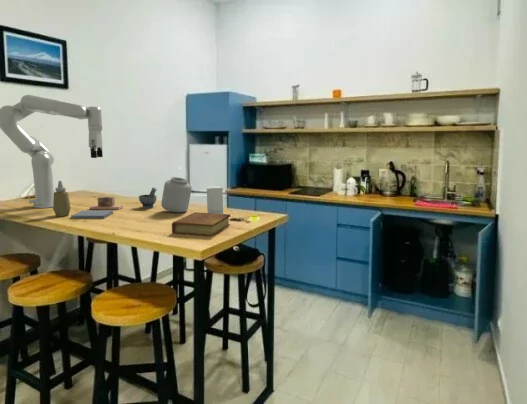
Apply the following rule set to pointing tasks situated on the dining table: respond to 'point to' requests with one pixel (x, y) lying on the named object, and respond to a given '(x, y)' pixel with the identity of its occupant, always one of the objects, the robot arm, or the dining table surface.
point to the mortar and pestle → (148, 199)
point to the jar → (176, 195)
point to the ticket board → (92, 214)
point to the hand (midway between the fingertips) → (96, 157)
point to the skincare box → (215, 200)
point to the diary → (201, 224)
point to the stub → (106, 203)
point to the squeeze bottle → (61, 201)
